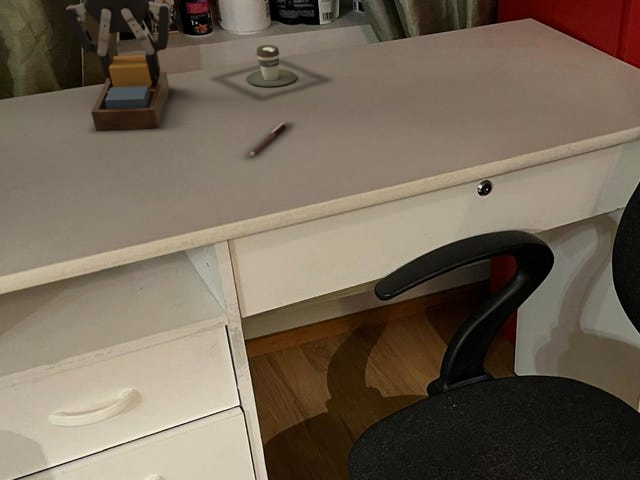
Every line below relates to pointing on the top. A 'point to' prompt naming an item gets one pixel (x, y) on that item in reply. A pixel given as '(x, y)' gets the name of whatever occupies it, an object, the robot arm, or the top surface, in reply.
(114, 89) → the pad grey
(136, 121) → the back frame
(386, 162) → the top surface
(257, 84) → the coffee cup
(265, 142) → the pen
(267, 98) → the top surface
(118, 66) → the orange block
